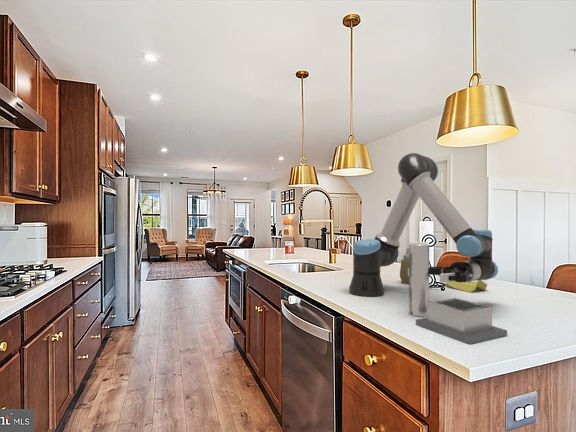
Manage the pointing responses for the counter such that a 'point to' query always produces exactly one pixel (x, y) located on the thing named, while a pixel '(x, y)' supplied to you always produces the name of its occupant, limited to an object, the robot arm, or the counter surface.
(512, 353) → the counter surface
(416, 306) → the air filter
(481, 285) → the banana
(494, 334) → the plate
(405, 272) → the squeeze bottle
